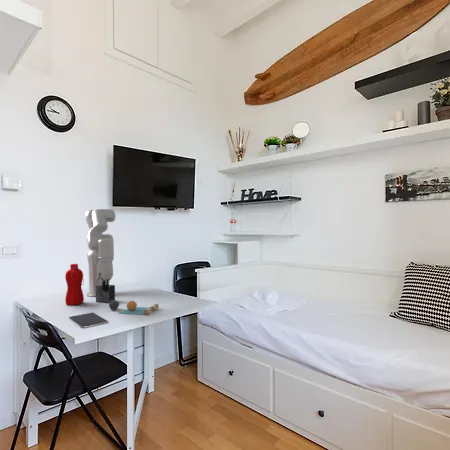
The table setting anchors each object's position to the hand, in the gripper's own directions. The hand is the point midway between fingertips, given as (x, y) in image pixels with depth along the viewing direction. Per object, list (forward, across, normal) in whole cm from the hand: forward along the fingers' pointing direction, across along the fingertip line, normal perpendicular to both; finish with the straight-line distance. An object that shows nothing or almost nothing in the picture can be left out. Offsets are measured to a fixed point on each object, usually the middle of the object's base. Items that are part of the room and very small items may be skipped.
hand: (105, 290), depth 189 cm
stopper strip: (+10, +1, +30) cm, 31 cm away
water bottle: (+12, -6, -25) cm, 28 cm away
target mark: (+10, +1, +21) cm, 23 cm away
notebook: (+10, +23, +5) cm, 26 cm away
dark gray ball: (+8, +2, +6) cm, 10 cm away
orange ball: (+7, +1, +18) cm, 19 cm away
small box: (+12, -15, -10) cm, 21 cm away
